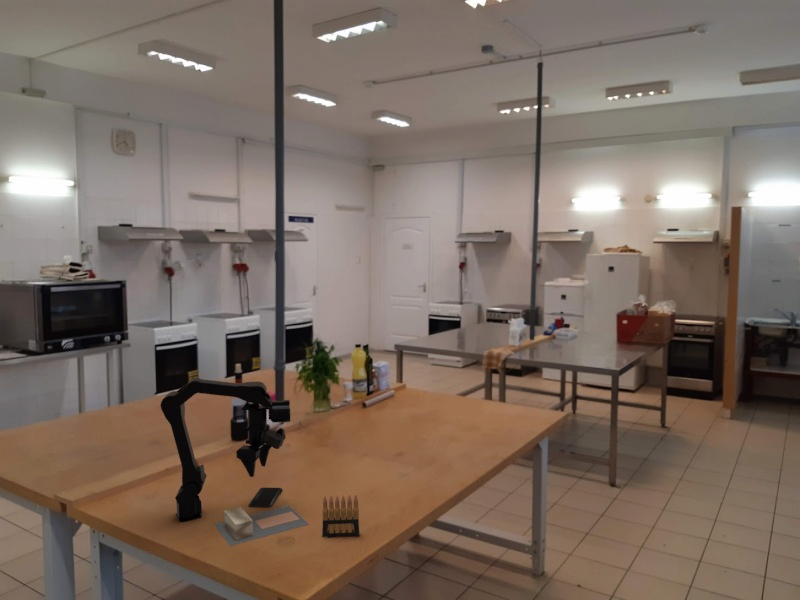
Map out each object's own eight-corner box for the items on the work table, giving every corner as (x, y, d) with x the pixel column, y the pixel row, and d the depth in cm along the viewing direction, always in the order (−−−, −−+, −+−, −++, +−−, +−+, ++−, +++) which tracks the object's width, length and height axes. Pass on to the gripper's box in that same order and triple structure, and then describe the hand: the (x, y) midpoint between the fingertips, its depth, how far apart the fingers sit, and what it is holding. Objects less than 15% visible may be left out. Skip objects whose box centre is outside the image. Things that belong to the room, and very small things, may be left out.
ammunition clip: (322, 537, 174) (321, 497, 173) (322, 534, 176) (321, 494, 175) (359, 536, 175) (358, 496, 174) (359, 533, 177) (358, 493, 176)
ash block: (236, 540, 173) (235, 524, 172) (224, 525, 182) (224, 510, 182) (253, 535, 175) (252, 520, 175) (240, 521, 185) (240, 506, 184)
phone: (283, 487, 209) (271, 506, 194) (283, 491, 209) (271, 509, 194) (260, 487, 209) (247, 505, 195) (260, 490, 210) (247, 509, 195)
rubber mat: (230, 547, 169) (230, 545, 169) (213, 525, 183) (213, 524, 183) (309, 525, 182) (309, 524, 182) (288, 506, 196) (288, 505, 196)
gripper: (270, 433, 179) (271, 484, 180) (292, 416, 198) (292, 462, 199) (235, 431, 181) (235, 481, 182) (259, 414, 199) (260, 460, 201)
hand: (257, 471), depth 191 cm, fingers open, 9 cm apart
